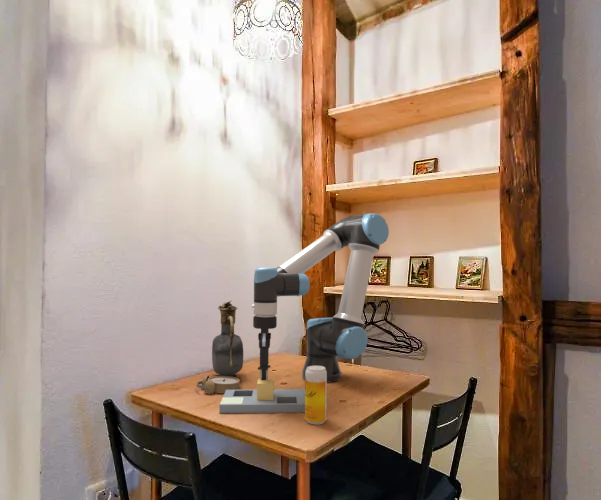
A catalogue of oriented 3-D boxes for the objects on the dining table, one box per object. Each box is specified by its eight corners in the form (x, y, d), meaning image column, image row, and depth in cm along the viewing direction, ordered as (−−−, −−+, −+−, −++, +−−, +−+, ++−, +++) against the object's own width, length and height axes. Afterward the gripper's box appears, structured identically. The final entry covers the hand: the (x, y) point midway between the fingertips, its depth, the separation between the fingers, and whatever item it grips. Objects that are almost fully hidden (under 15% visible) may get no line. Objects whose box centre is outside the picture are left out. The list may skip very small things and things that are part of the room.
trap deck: (304, 396, 141) (304, 389, 142) (307, 412, 126) (307, 404, 127) (225, 396, 140) (226, 389, 140) (219, 413, 125) (219, 405, 125)
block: (273, 394, 135) (273, 379, 135) (273, 400, 130) (273, 383, 130) (258, 395, 135) (258, 379, 135) (256, 400, 130) (257, 383, 130)
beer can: (304, 417, 122) (304, 365, 123) (324, 417, 123) (325, 365, 123) (306, 425, 116) (306, 370, 117) (327, 425, 117) (328, 370, 117)
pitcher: (237, 372, 172) (238, 298, 173) (246, 385, 154) (247, 302, 155) (210, 374, 168) (211, 298, 169) (216, 387, 150) (217, 303, 151)
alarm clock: (244, 383, 146) (201, 380, 140) (241, 398, 146) (198, 395, 140) (236, 375, 156) (195, 372, 151) (233, 389, 156) (193, 386, 150)
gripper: (254, 312, 143) (253, 383, 142) (251, 317, 130) (250, 395, 129) (277, 313, 143) (275, 383, 142) (276, 318, 130) (275, 395, 129)
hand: (263, 389), depth 136 cm, fingers closed
